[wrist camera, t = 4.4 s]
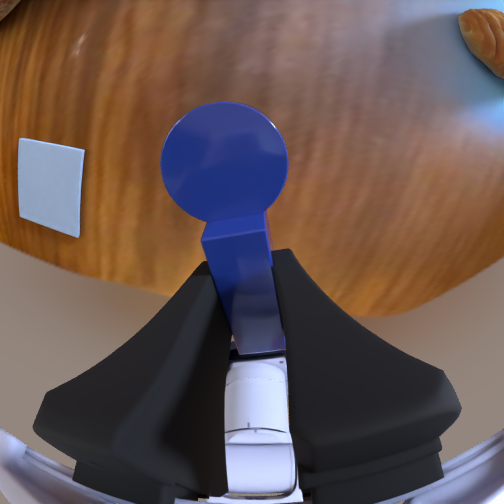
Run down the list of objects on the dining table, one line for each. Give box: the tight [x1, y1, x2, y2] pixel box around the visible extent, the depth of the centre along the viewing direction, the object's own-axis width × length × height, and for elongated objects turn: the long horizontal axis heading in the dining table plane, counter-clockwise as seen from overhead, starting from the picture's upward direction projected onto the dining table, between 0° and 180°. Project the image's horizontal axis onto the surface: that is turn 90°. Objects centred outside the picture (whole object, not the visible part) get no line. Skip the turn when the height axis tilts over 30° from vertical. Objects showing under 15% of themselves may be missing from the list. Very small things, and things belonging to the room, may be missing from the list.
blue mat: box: [18, 138, 85, 238], centre depth 16 cm, size 7×7×1 cm
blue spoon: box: [160, 102, 289, 354], centre depth 9 cm, size 8×4×3 cm, turn 11°
